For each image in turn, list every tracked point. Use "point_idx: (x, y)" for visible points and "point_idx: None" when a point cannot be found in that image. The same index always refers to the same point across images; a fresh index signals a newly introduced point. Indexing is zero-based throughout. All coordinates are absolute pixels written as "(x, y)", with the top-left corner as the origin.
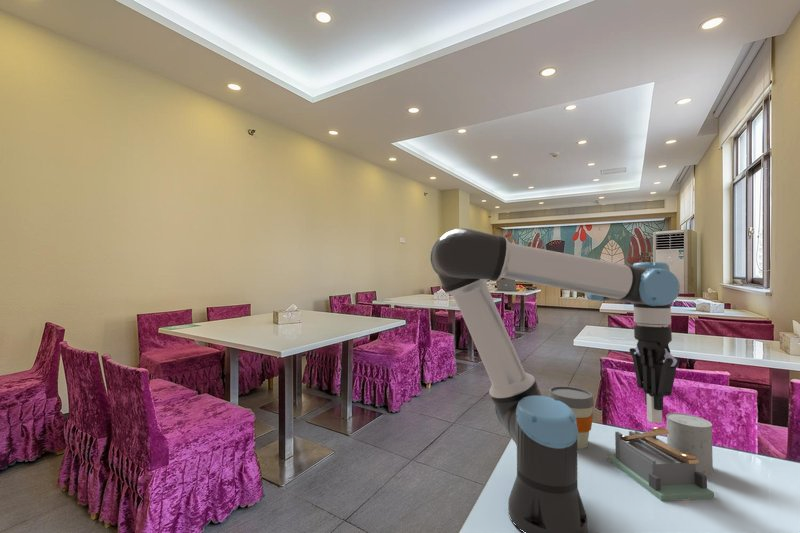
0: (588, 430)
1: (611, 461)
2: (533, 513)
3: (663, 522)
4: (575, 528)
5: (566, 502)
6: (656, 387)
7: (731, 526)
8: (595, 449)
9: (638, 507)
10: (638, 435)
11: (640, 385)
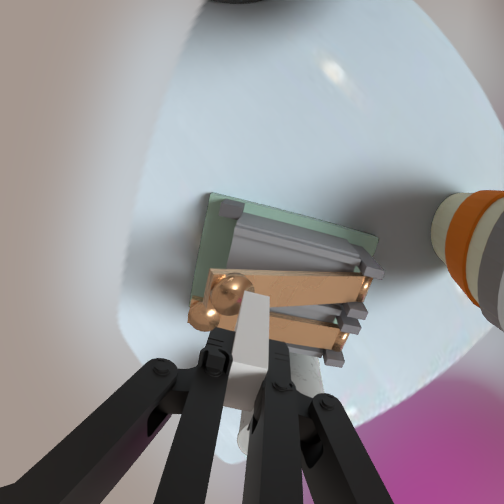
0: (446, 252)
1: (363, 232)
2: None
3: (164, 130)
4: None
5: None
6: (186, 402)
7: (128, 239)
8: (415, 252)
9: (211, 124)
10: (306, 273)
11: (320, 404)
